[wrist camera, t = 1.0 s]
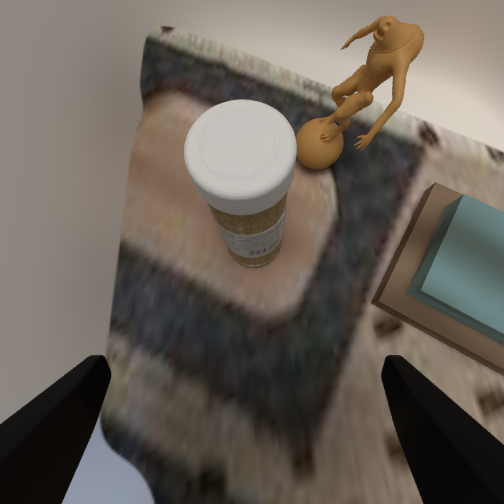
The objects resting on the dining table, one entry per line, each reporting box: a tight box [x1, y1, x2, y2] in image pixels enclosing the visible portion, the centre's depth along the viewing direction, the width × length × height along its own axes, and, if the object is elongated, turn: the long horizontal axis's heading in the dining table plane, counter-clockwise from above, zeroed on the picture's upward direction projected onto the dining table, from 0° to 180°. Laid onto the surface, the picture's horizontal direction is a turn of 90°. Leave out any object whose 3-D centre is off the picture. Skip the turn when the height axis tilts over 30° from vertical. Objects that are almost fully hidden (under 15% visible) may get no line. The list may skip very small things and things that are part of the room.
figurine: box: [296, 16, 424, 169], centre depth 20 cm, size 8×6×12 cm
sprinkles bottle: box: [184, 100, 297, 268], centre depth 18 cm, size 5×5×13 cm
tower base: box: [371, 182, 504, 375], centre depth 21 cm, size 11×11×4 cm
